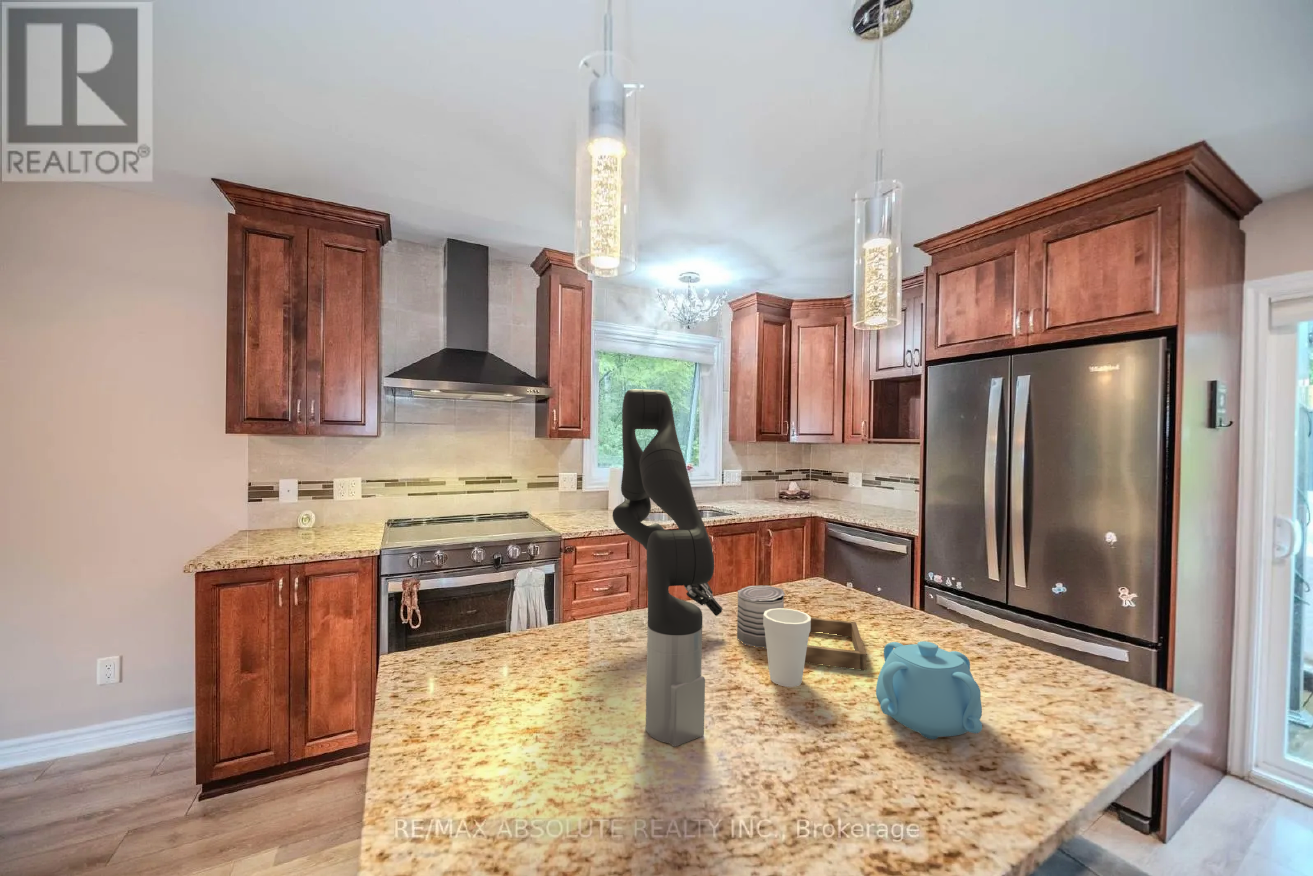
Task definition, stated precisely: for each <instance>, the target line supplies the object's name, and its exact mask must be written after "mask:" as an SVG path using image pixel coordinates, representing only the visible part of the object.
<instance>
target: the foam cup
mask: <svg viewBox="0 0 1313 876" xmlns="http://www.w3.org/2000/svg"><path fill="white" fill-rule="evenodd" d="M763 626H764V629H765V638H766V647H767V648H766V654H767V656H766V657H767V664H768V672H769V679H770V680H771V682H772V683H774V684H776V685H777V684H778V685H777V686H782V687H786V688H794V687H799V686H800V685H801V683H802V682H803V676H804V669H805V664H806V663H805V657H806V651H807V645H809V644H808V642H809V636H810V630H811V615H809V614H808V613H806V612H803V611H801V610H798V609H792V608H776V609H769V610H767V611H765V612H764V614H763Z"/></svg>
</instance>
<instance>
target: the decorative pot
mask: <svg viewBox="0 0 1313 876" xmlns="http://www.w3.org/2000/svg"><path fill="white" fill-rule="evenodd" d="M883 657H884V663H883V665H882V667H881V669H880V671H879V674H878V678H877V681H876V686H875V697H876V699H877V701H878V703H879V705H880V706H879V708H880V710H881V711H882V713H883V714H884V715H886V716H889V717H891V718H892V719H893V720H895V721H896V722H897V723H900V724H901V725H902V726H904V727H906V728H908V729H909V730H912V731H914V732H916V733H919V734H920V735H921V736H922V737H924V738H926V739H929V740H937V739H938V738H939V737H940V738H942V737H943V738H944V737H955V736H961V735H964V734H967V733H968V732H969V733H971V734H979V733H980V732H982V729H983V724H982V721H981V718H982V714H983V706H982V699H981V697H982V696H981V695H982V694H981V689H980V686H979V685H978V683H977V681H976V680H975V678H974V676H973V674H972V672H971V662H970V660H969V657H968V656H966V654H964V653H962V652H960V651H957V650H952V651H948V650H945V649H943V648H941V647H939V646H938V645H937V644H935V643H934V642H930V641H925V640H922V641H918V642H917V644H916V643H915V644H914V643H913V644H902V643H900V642H898V641H893V642H892V641H890V642H888V643H886V644H885V646H884V647H883Z"/></svg>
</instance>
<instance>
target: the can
mask: <svg viewBox="0 0 1313 876" xmlns="http://www.w3.org/2000/svg"><path fill="white" fill-rule="evenodd" d="M785 596H786V594H785V592H784V590H783V588H779V587H775V586H771V585H748V586H746V587H743V588H740V589H739V590H737V616H736V617H737V619H736V620H737V622H736V624H737V626H736V627H737V628H736V632H737V633H736V639H737V640H738V639H739V640H740V641H742V642H743V644H742V645H744V644H746V645H745V646H748V645H750V646H749V647H751V646H755V647H764V648H763V649H767V647H766V638H765V629H764V626H763V614H764V612H765V611H767V610H769V609H776V608H784V605H785V603H784V600H785V599H784V597H785ZM784 609H785V608H784ZM739 640H738V641H739ZM740 641H739V642H740ZM755 647H754V648H755Z"/></svg>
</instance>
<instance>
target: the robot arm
mask: <svg viewBox="0 0 1313 876" xmlns="http://www.w3.org/2000/svg"><path fill="white" fill-rule="evenodd" d="M621 411H622V414H621V418H622V419H621V422H622V423H621V424H622V425H621V426H622V428H621V429H622V437H621V438H622V459H623V461H622V464H623V465H622V473H621V474H622V475H621V482H620V483H621V485H620V491H621V494H622V496H623V497H624V498H625V500H624V501H623V502H622V503H619V504H618V505H617V506H616V507H614V508H613V511H612V520H613V522H614V524H615V526H616V527H617V528H618V529H619V530H620V531H621V532H623V533H624V534H626V535H627V536H629V537H630V538H632V539H633V540H634V541H635V542H637V543H639V544H641V545H642V547H643V548H644V549H645V550H646V569H647V570H646V573H647V633H646V635H647V637H646V638H647V639H646V640H647V641H646V677H645V678H646V681H645V682H646V683H645V684H646V685H645V688H646V689H645V730H646V732H647V734H648V735H649V736H650V737H651V738H653V739H655V740H657V741H659V742H662V743H667V744H670V745H672V746H673V747H677V746H681V745H683V744H686V743H688V742H690V741H693V740H695V739H698V738H700V737H702V736H703V737H704V735H705V705H706V704H705V700H706V699H705V698H706V696H705V695H706V694H705V693H706V678H705V677H704V676H703V675H702V655H703V651H702V650H703V611H702V610H701V608H700V607H699V606H697V604H695V603H698V604H699V605H701V606H703V605H704V606H707V608H708V609H709V610H710V611H711V612H712V613H713V615H714V616H716V617H718V616H719V615H720V614H721V613H722V612H723V607H722V606H721V605H720V604H719V602H718V601H717V600H716V599H715V597H714V595H713V594H714V592H713V590H712V588H711V587H710V585H709V583H708V582H710V580H712V577H713V575H714V573H715V572H714V571H715V558H714V552H713V547H712V544H711V540H710V537H709V534H708V532H707V531H708V530H707V529H706V526H705V524H704V521H703V519H702V516H701V514H700V511H699V508H698V505H697V503H696V500H695V497H694V493H693V489H692V485H691V481H690V478H689V477H690V476H689V472H688V468H687V465H686V460H685V458H684V456H683V452H682V448H681V445H680V442H679V438H678V434H677V431H676V425H675V418H674V410H673V406H672V401H671V398H670V396H669V394H668V393H667V392H666V391H665V390H661V389H640V388H637V389H634V388H633V389H629V390H627V391H626V392H625V393H624V396H623V402H622V410H621ZM636 430H656V431H657V432H656V434H655V436H654V437H653V438H652V439H651V440H650V441H649V443H647V445H646V446H645V448H644V450H642V447H641V446H640V444H639V442H638V440H637V436H636ZM651 501H652V502H653V503H655V504H656V506H658V508H660V509H661V510H662V511H663V512H664V513H665V514H667V516H669V517H670V519H672V520H673V522H674V523H675V525H676V526H677V528H678V529H665V528H664V527H663V526H662V525H661V524H660V523H656V522H655V523H652V524H650V525H649V524H648V525H647V524H644V523H642V522H643V521H645V520H646V519H647V518H648V517H649V515H650V512H651V509H652V505H651V503H652V502H651ZM679 586H681V587H682V586H683V587H684V589H685V590H686V591H687V592H686V596H687V597H688V598H689V599H691V600H692V601H695V603H692V602H689V601H687V600H684V599H681V598H678V597H675V596H674V595H673V594H671V593H670V591H669V588H670V587H679Z"/></svg>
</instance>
